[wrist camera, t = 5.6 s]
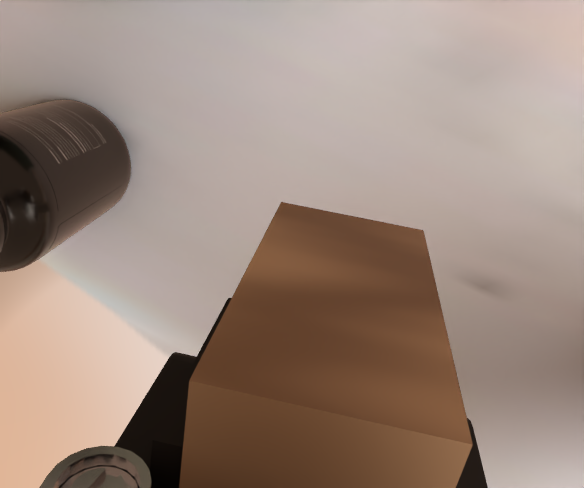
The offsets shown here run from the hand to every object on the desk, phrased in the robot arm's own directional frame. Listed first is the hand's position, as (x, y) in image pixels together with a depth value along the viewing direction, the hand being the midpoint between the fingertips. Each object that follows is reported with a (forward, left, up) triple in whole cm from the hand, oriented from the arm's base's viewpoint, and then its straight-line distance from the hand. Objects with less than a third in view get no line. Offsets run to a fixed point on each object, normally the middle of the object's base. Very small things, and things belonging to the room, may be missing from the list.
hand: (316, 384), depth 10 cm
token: (0, 0, -2) cm, 2 cm away
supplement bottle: (+16, +3, -20) cm, 25 cm away
